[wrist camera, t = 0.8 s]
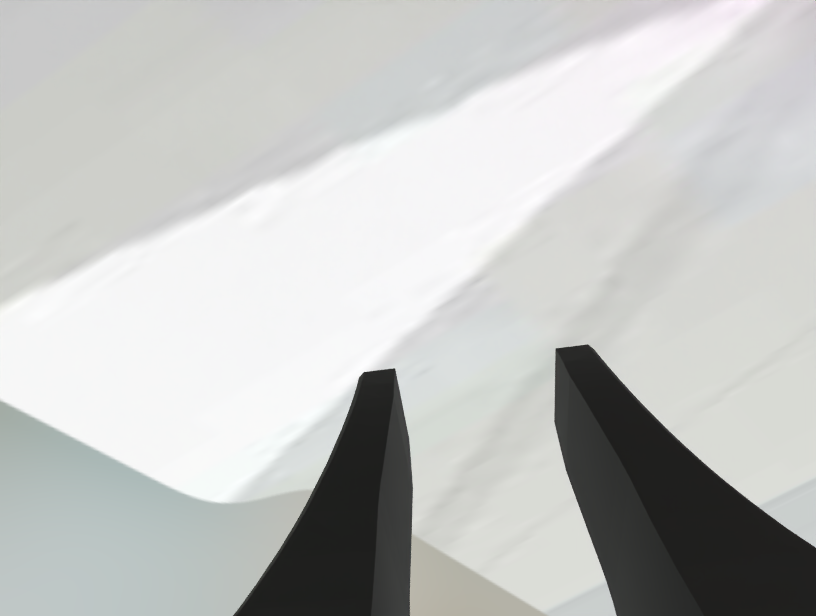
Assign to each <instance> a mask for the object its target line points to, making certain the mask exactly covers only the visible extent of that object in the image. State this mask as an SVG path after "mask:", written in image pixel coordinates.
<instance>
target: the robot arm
mask: <svg viewBox="0 0 816 616" xmlns="http://www.w3.org/2000/svg"><path fill="white" fill-rule="evenodd" d="M555 426H556V430H557V434H558V439H559V443H560V447H561V451H562V455H563V459H564V463H565V468H566V471H567V474H568V477H569V479H570V482H571V485H572V488H573V491H574V493H575V496H576V499H577V502H578V504H579V507H580V510H581V513H582V515H583V518H584V521H585V523H586V526H587V529H588V532H589V534H590V537H591V540H592V543H593V545H594V548H595V551H596V553H597V556H598V559H599V562H600V564H601V567H602V570H603V572H604V575H605V578H606V581H607V584H608V587H609V590H610V594H611V597H612V600H613V603H614V607H615V611H616V614H617V616H816V548H815V547H814V546H812V545H811V544H809V543H808V542H806V541H805V540H803V539H802V538H800V537H799V536H797V535H796V534H794V533H793V532H791V531H790V530H788V529H787V528H786V527H784V526H783V525H781V524H780V523H779V522H777V521H776V520H775V519H773V518H772V517H771V516H769V515H768V514H767V513H765V512H764V511H763V510H761V509H760V508H759V507H757V506H756V505H755V504H753V503H752V502H751V501H749V500H748V499H747V498H746V497H744V496H743V495H742V494H741V493H739V492H738V491H737V490H735V489H734V488H733V487H732V486H730V485H729V484H728V483H727V482H725V481H724V480H723V479H722V478H721V477H719V476H718V475H717V474H716V473H715V472H714V471H712V470H711V469H710V468H709V467H708V466H707V465H705V464H704V463H703V462H702V461H701V460H700V459H699V458H698V457H696V456H695V455H694V454H693V453H692V452H691V451H690V450H689V449H688V448H687V447H685V446H684V445H683V444H682V443H681V442H680V441H679V440H678V439H677V438H676V437H675V436H674V435H673V434H672V433H671V432H669V431H668V430H667V429H666V428H665V427H664V426H663V425H662V424H661V423H660V422H659V421H658V420H657V419H656V418H655V417H654V416H653V415H652V414H651V413H650V412H649V411H648V410H647V409H646V408H645V407H644V406H643V404H642V403H641V402H640V401H639V400H638V399H637V398H636V397H635V396H634V395H633V394H632V393H631V392H630V391H629V389H628V388H627V387H626V386H625V385H624V384H623V383H622V382H621V381H620V380H619V378H618V377H617V376H616V375H615V374H614V373H613V372H612V370H611V369H610V368H609V367H608V366H607V365H606V363H605V362H604V361H603V360H602V359H601V357H600V356H599V355H598V354H597V353H596V351H595V350H594V349H593V348H592V347H590V346H589V345H581V346H573V347H565V348H556V361H555ZM412 497H413V484H412V470H411V457H410V445H409V436H408V431H407V426H406V421H405V416H404V411H403V406H402V401H401V396H400V391H399V386H398V381H397V376H396V371H395V368H394V369H386V370H378V371H370V372H364V373H363V374H362V375H361V376H360V377H359V380H358V384H357V388H356V391H355V394H354V397H353V400H352V403H351V406H350V409H349V412H348V414H347V417H346V420H345V422H344V425H343V427H342V430H341V432H340V435H339V437H338V439H337V441H336V444H335V446H334V448H333V451H332V453H331V455H330V458H329V460H328V462H327V464H326V466H325V468H324V470H323V472H322V474H321V476H320V478H319V480H318V482H317V484H316V486H315V488H314V490H313V492H312V494H311V496H310V498H309V500H308V502H307V504H306V506H305V507H304V509H303V511H302V513H301V515H300V516H299V518H298V520H297V522H296V523H295V525H294V527H293V528H292V530H291V532H290V533H289V535H288V537H287V538H286V540H285V541H284V543H283V545H282V546H281V548H280V550H279V551H278V553H277V554H276V556H275V557H274V559H273V560H272V562H271V563H270V565H269V566H268V568H267V569H266V571H265V572H264V574H263V575H262V577H261V578H260V580H259V581H258V583H257V584H256V586H255V587H254V588H253V590H252V591H251V593H250V594H249V595H248V597H247V598H246V600H245V601H244V602H243V604H242V605H241V606H240V608H239V609H238V610H237V612H236V613H235V614H234V615H233V616H410V602H409V601H410V566H411V565H410V564H411V533H412Z"/></svg>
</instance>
